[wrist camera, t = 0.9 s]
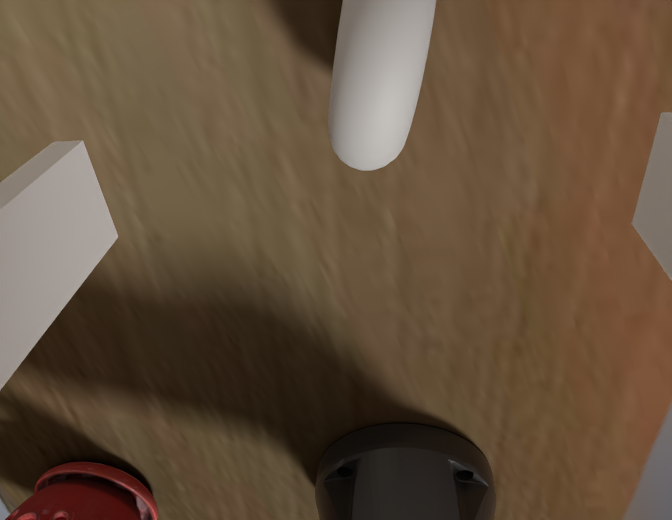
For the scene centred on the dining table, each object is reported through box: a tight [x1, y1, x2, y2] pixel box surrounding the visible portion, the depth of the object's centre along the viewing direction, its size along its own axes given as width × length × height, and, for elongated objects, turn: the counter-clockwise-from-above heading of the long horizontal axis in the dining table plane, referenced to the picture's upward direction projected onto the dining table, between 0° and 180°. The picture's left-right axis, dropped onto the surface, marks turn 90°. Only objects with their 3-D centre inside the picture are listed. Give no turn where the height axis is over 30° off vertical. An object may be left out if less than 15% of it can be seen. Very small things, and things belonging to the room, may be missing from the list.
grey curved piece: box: [329, 0, 436, 170], centre depth 23 cm, size 10×4×10 cm, turn 173°
